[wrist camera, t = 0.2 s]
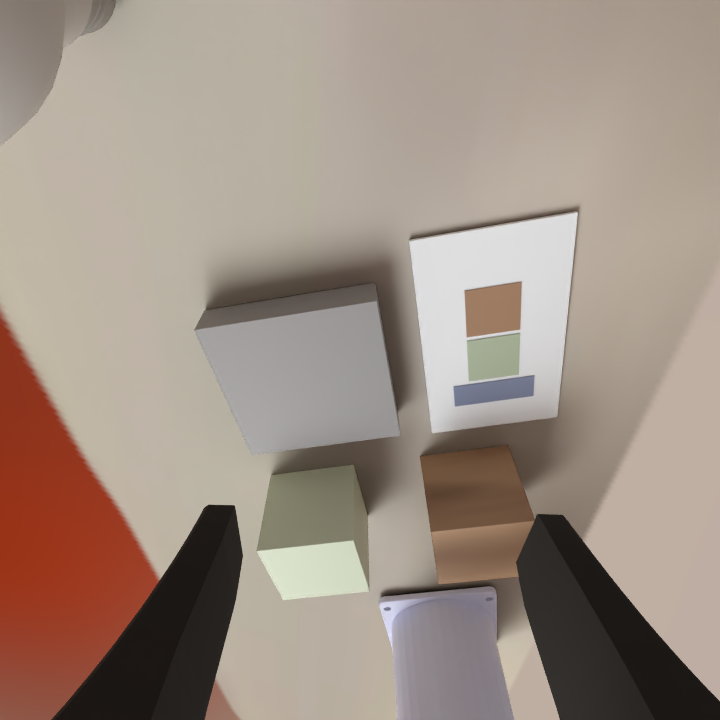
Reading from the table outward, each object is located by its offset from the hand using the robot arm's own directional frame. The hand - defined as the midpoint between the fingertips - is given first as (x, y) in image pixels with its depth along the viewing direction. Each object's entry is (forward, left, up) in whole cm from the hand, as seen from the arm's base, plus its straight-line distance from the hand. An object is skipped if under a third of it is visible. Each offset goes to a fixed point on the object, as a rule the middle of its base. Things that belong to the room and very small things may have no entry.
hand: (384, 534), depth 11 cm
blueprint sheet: (-2, -5, -10) cm, 11 cm away
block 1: (-11, +5, -10) cm, 15 cm away
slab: (-2, +3, -10) cm, 10 cm away
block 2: (-11, -3, -10) cm, 15 cm away
